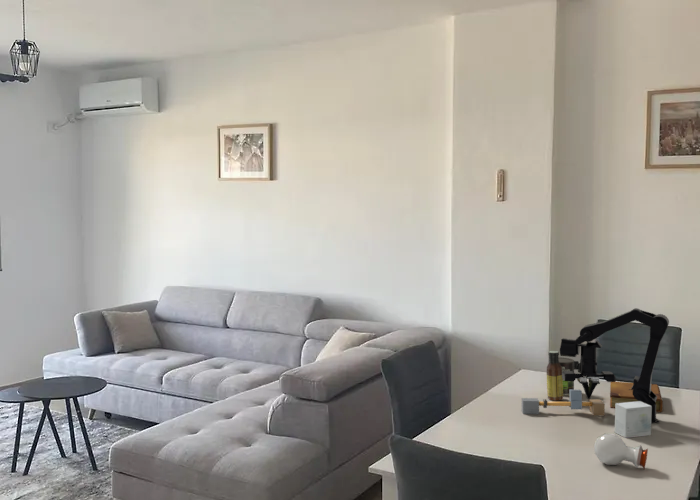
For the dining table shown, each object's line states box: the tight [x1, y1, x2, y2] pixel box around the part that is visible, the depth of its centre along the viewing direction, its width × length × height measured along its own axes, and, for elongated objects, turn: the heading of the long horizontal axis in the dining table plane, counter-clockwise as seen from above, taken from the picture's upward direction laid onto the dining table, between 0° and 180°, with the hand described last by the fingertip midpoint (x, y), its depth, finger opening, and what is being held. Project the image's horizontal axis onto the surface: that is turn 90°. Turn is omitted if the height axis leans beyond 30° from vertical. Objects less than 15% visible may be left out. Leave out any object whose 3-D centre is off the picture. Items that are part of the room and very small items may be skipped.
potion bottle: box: [593, 432, 649, 470], centre depth 206 cm, size 9×10×15 cm
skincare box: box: [613, 401, 652, 438], centre depth 235 cm, size 10×6×10 cm, turn 105°
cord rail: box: [521, 397, 606, 417], centre depth 260 cm, size 30×6×5 cm, turn 84°
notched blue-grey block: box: [568, 389, 583, 410], centre depth 260 cm, size 4×3×7 cm
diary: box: [609, 381, 664, 413], centre depth 273 cm, size 23×19×6 cm
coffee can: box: [558, 356, 575, 396], centre depth 289 cm, size 10×10×14 cm
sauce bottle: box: [546, 350, 564, 402], centre depth 279 cm, size 7×6×20 cm
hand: (588, 398), depth 259 cm, fingers closed
